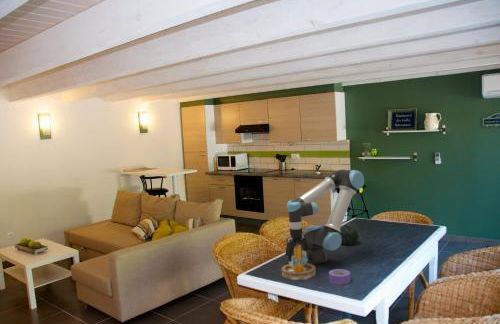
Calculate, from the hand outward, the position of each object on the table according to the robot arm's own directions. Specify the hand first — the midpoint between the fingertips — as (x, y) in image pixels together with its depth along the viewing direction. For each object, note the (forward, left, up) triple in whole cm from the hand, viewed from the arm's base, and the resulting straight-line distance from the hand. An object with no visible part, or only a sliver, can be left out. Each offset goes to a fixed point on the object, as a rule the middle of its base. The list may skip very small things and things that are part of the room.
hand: (298, 263), depth 251 cm
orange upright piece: (0, 0, -5) cm, 5 cm away
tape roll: (-20, +17, -7) cm, 27 cm away
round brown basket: (0, 0, -6) cm, 6 cm away
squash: (-49, -52, -7) cm, 72 cm away
